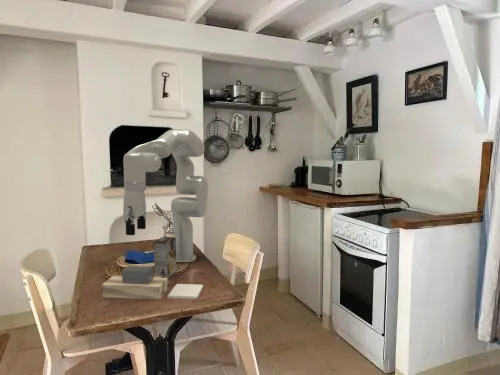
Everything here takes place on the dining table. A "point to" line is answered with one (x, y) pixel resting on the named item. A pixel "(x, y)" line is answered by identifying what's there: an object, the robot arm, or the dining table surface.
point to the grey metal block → (137, 275)
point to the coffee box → (165, 256)
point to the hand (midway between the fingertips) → (136, 231)
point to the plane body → (134, 289)
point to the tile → (186, 291)
